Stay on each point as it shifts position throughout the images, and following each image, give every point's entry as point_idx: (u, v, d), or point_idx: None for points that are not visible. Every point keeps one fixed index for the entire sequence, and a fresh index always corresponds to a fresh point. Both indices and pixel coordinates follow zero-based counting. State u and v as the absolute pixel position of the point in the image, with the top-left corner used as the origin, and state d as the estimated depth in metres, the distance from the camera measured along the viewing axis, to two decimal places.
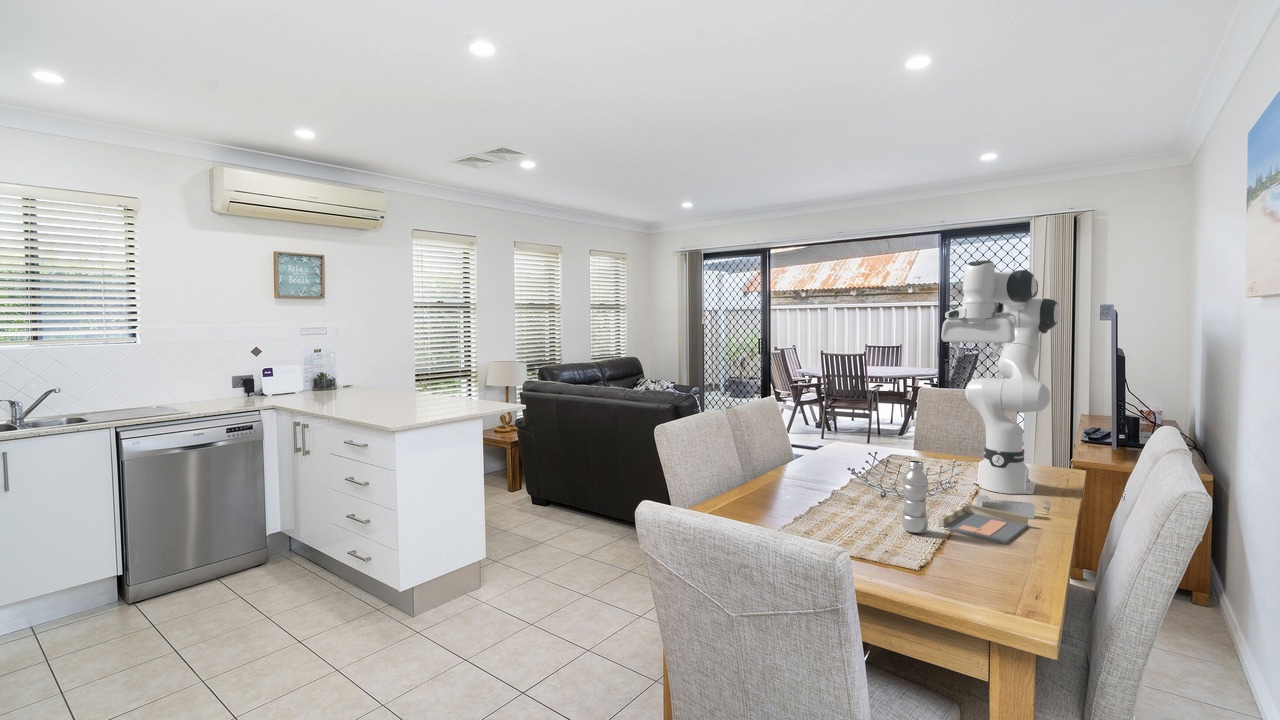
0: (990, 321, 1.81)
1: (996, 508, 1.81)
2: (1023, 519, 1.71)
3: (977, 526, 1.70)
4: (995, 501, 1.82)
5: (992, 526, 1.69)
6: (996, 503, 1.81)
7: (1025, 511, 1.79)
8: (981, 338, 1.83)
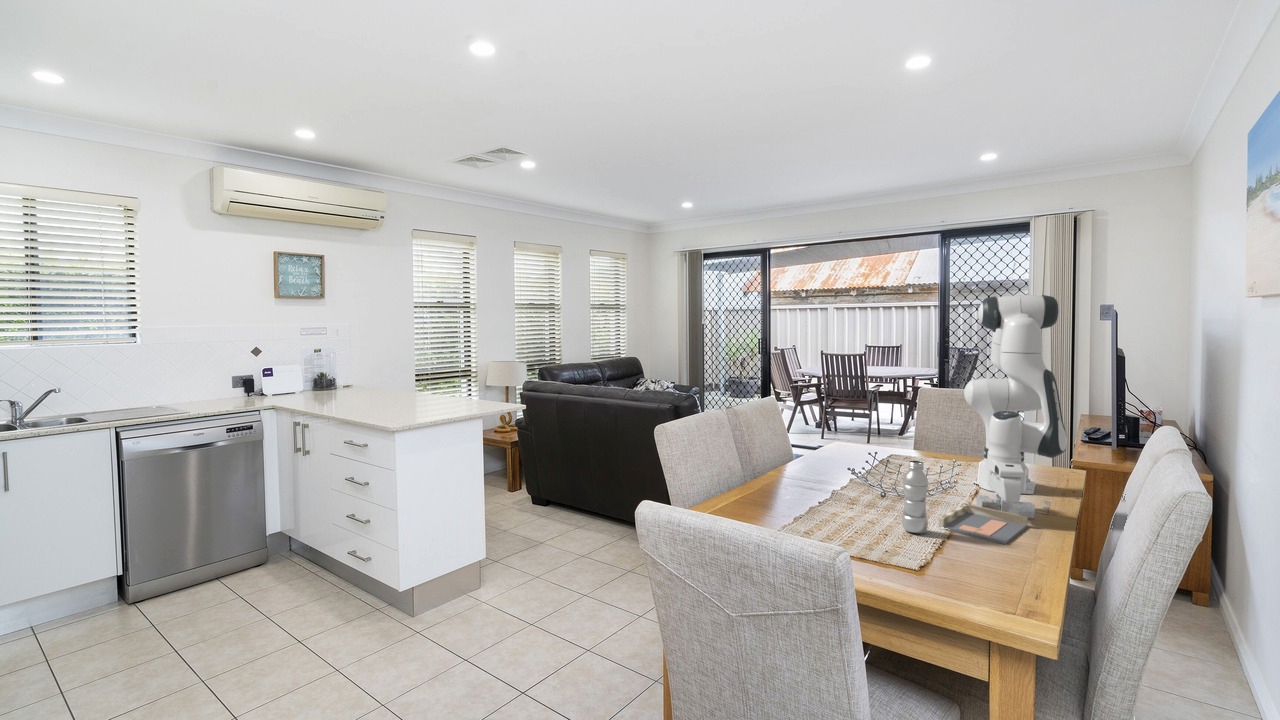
0: None
1: (996, 508, 1.81)
2: (1023, 519, 1.71)
3: (977, 526, 1.70)
4: (995, 501, 1.82)
5: (992, 526, 1.69)
6: (996, 503, 1.81)
7: (1025, 511, 1.79)
8: None
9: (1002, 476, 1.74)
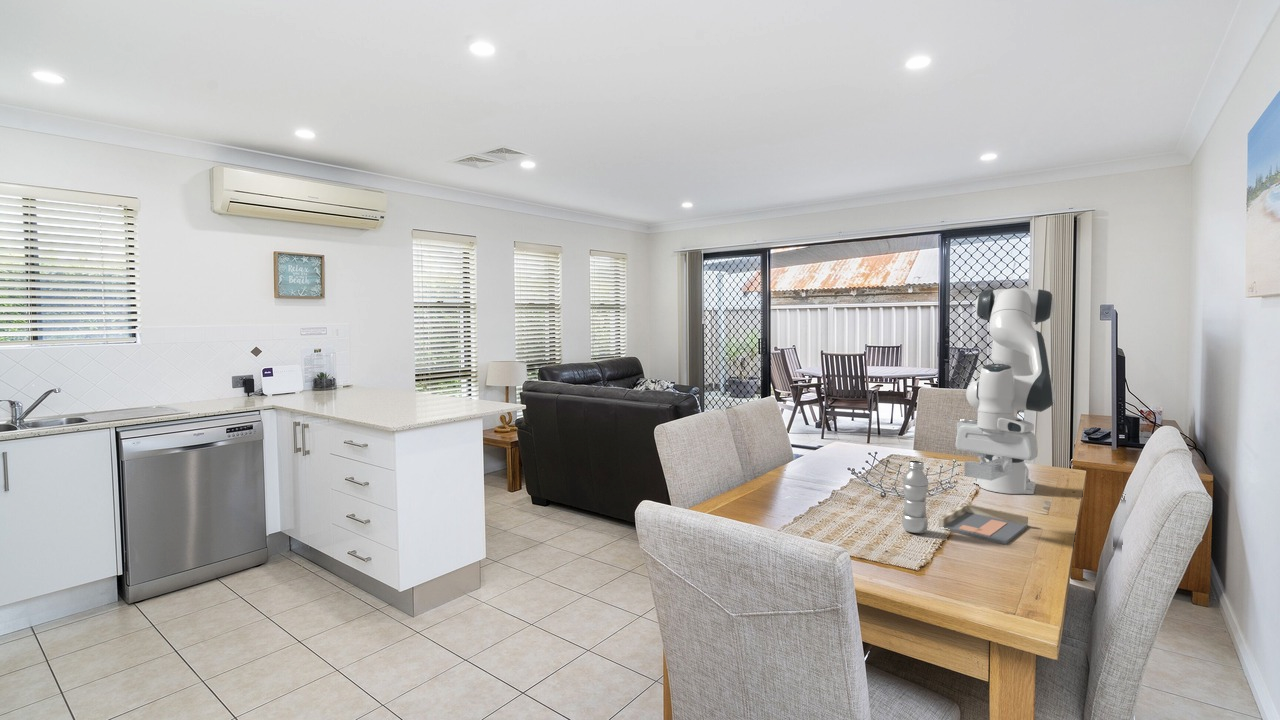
0: None
1: (997, 470, 1.65)
2: (1023, 519, 1.71)
3: (977, 526, 1.70)
4: (992, 463, 1.66)
5: (992, 526, 1.69)
6: (997, 465, 1.65)
7: (1008, 467, 1.70)
8: None
9: (1025, 432, 1.59)
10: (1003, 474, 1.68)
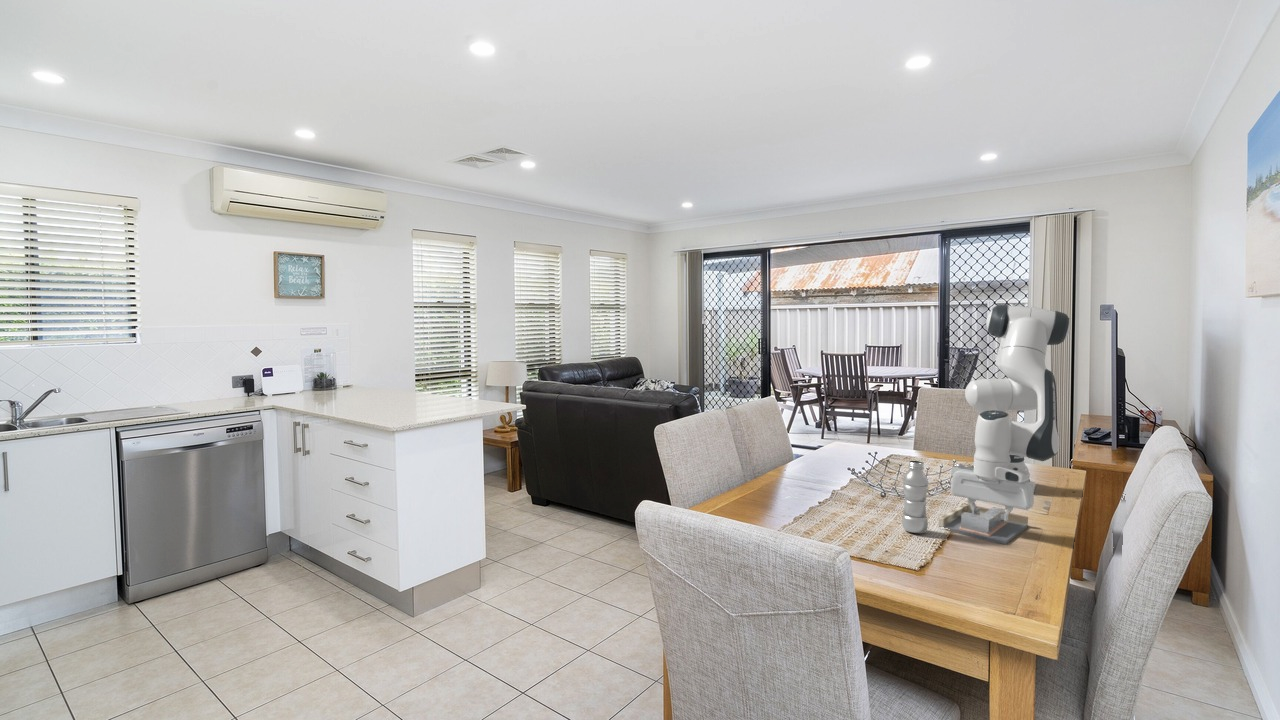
0: None
1: (993, 523, 1.65)
2: (1023, 519, 1.71)
3: None
4: (988, 516, 1.66)
5: None
6: (993, 518, 1.65)
7: None
8: None
9: (1022, 482, 1.59)
10: (998, 525, 1.68)
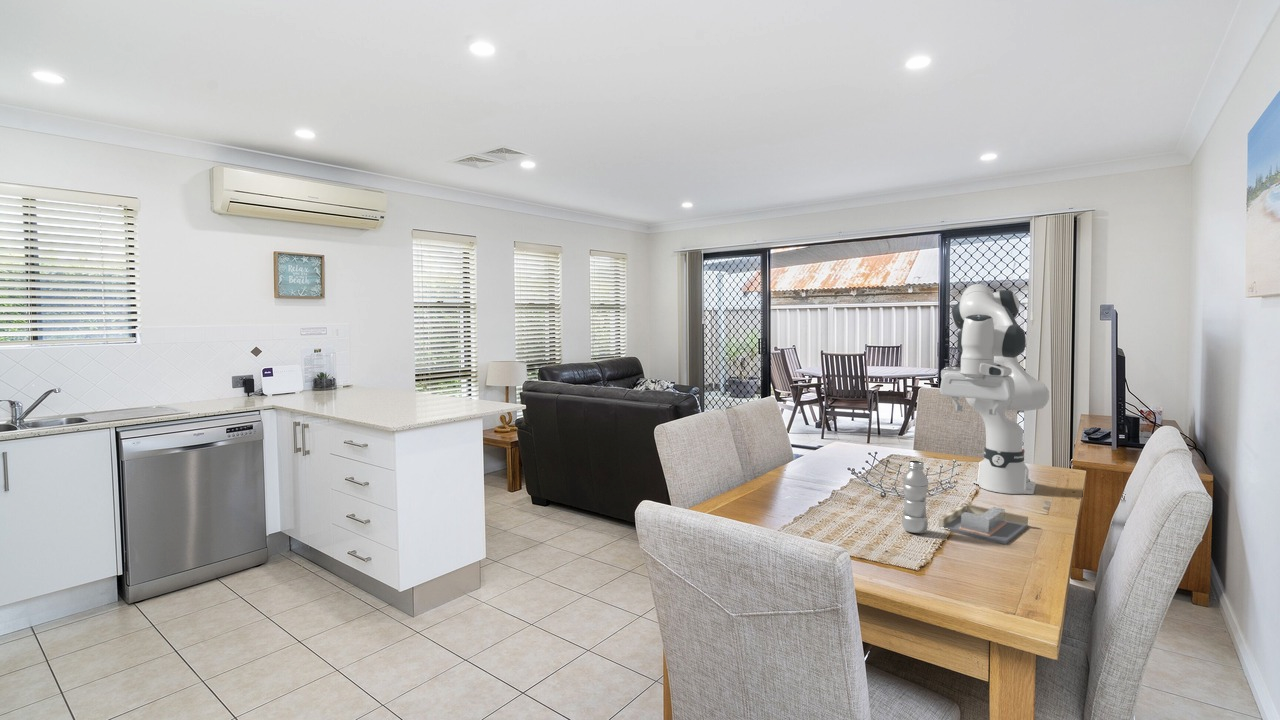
0: None
1: (993, 523, 1.65)
2: (1023, 519, 1.71)
3: None
4: (988, 516, 1.66)
5: None
6: (993, 518, 1.65)
7: (1002, 517, 1.70)
8: None
9: (1004, 375, 1.74)
10: (998, 525, 1.68)
